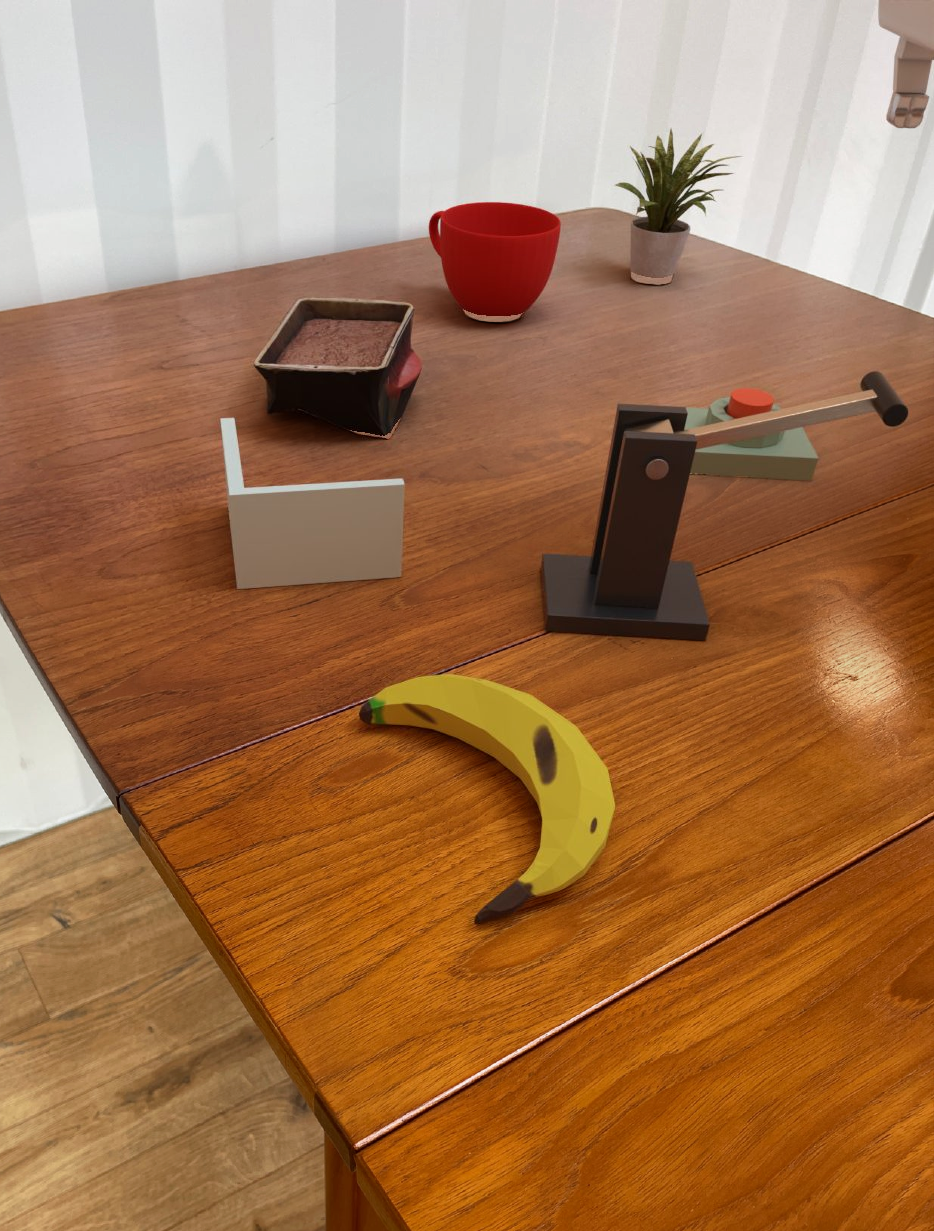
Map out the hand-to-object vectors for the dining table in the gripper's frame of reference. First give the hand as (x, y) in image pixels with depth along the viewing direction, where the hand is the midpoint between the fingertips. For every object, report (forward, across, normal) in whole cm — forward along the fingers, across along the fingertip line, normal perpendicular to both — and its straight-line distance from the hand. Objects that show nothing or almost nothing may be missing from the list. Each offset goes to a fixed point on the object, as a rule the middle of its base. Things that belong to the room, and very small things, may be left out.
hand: (926, 143), depth 63 cm
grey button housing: (+28, +16, +2) cm, 33 cm away
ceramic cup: (+28, +50, +24) cm, 63 cm away
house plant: (+28, +62, +3) cm, 68 cm away
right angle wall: (+28, -2, +38) cm, 47 cm away
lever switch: (+15, -9, +8) cm, 19 cm away
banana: (+28, -30, +26) cm, 48 cm away
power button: (+25, +16, +2) cm, 30 cm away
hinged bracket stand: (+28, -9, +15) cm, 33 cm away
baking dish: (+28, +23, +38) cm, 52 cm away
